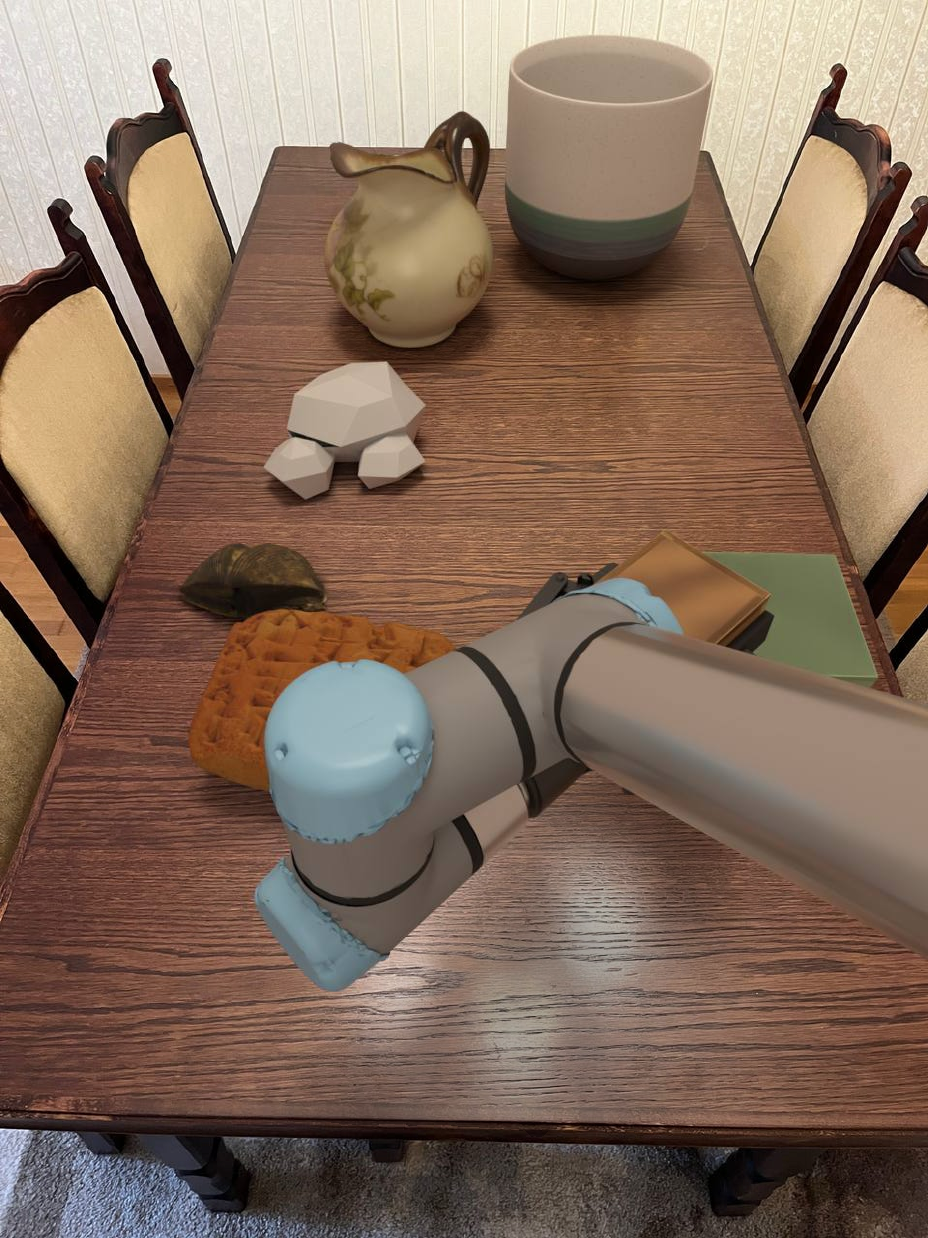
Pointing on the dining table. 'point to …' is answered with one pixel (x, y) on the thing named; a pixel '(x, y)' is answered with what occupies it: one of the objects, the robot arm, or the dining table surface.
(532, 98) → the planter
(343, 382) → the rock
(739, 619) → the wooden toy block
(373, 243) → the pitcher
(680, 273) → the dining table surface
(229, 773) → the cuneiform tablet
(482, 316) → the dining table surface
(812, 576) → the green box
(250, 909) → the dining table surface
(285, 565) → the seashell
